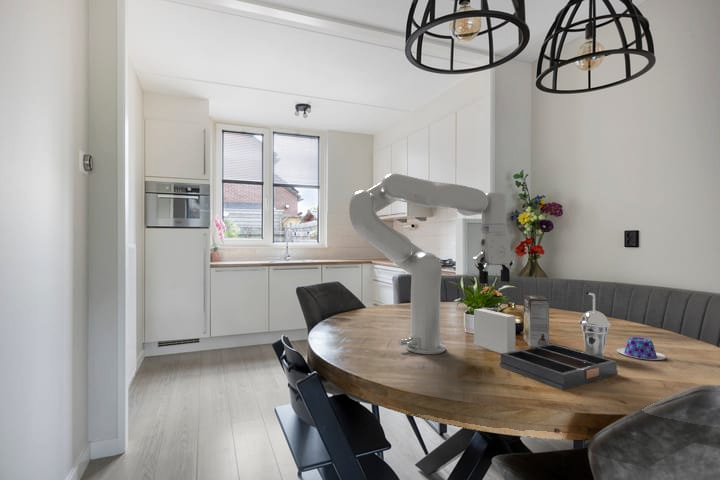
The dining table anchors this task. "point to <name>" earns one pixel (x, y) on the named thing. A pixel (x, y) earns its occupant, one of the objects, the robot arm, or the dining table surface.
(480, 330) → the panel
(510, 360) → the tray
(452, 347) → the dining table surface
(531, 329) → the coffee box
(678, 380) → the dining table surface
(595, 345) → the cup with straw
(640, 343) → the pudding
